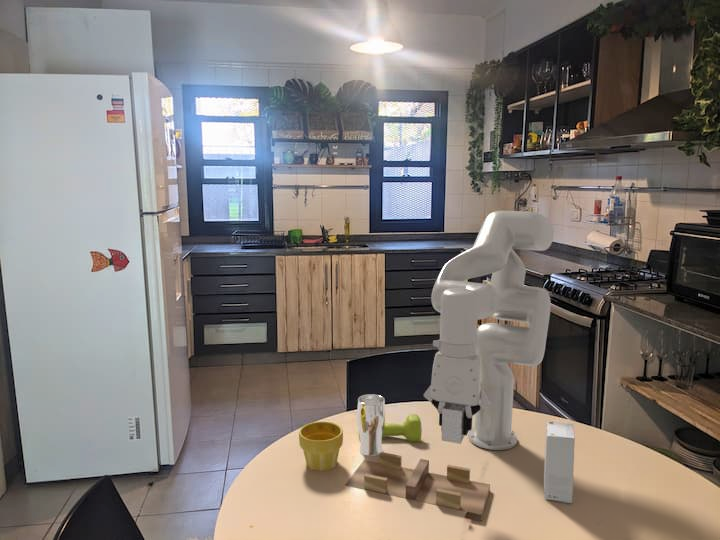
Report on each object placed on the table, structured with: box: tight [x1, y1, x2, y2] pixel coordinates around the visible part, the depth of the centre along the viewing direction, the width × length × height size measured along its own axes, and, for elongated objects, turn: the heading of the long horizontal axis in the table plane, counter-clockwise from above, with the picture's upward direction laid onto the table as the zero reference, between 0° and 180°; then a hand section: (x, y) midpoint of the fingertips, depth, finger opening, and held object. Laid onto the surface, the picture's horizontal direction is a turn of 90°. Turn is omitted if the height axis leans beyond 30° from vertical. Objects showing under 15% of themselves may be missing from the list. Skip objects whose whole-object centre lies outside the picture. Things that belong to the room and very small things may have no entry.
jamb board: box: [344, 451, 491, 522], centre depth 125 cm, size 12×30×4 cm, turn 69°
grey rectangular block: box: [441, 403, 466, 445], centre depth 119 cm, size 8×4×7 cm, turn 159°
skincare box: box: [543, 421, 576, 505], centre depth 124 cm, size 8×6×15 cm
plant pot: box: [298, 420, 344, 471], centre depth 134 cm, size 10×10×10 cm
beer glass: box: [356, 393, 386, 457], centre depth 139 cm, size 7×7×15 cm
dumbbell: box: [358, 413, 423, 443], centre depth 147 cm, size 16×8×7 cm, turn 90°
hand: (455, 430), depth 120 cm, fingers closed on grey rectangular block, 4 cm apart
